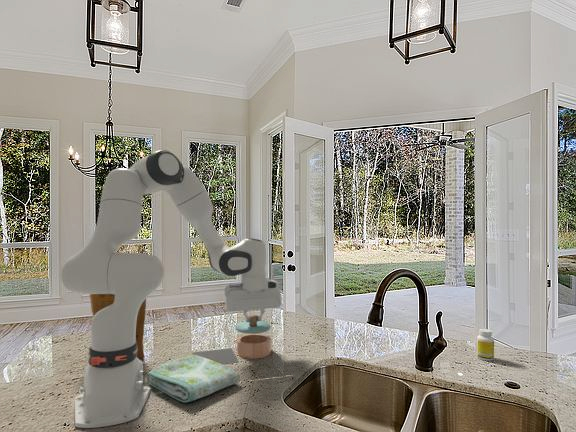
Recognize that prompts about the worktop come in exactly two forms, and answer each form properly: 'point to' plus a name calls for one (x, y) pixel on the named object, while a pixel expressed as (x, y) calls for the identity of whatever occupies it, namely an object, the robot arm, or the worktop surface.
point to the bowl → (253, 345)
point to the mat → (219, 356)
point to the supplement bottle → (485, 345)
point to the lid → (253, 326)
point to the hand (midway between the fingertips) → (253, 321)
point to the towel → (192, 377)
